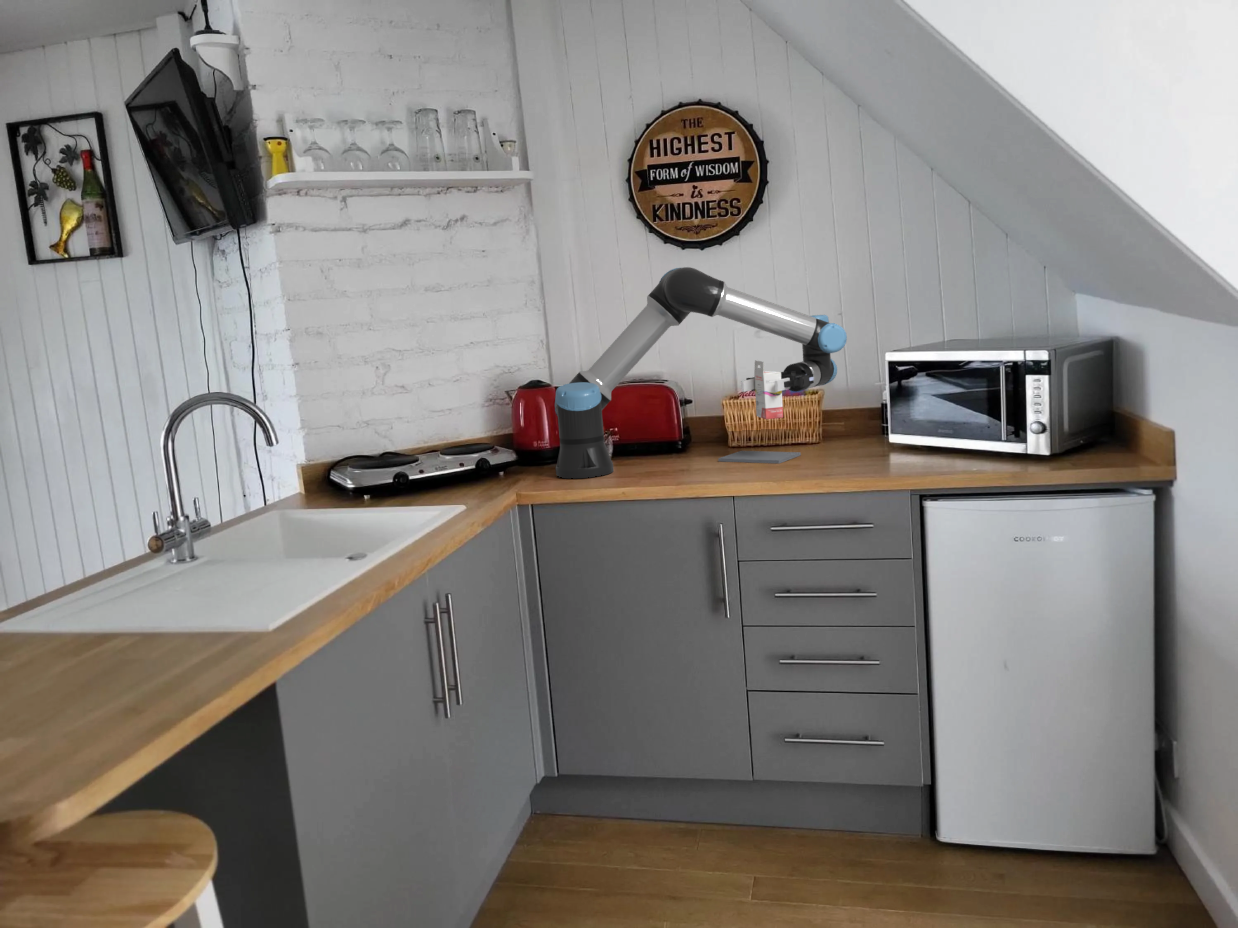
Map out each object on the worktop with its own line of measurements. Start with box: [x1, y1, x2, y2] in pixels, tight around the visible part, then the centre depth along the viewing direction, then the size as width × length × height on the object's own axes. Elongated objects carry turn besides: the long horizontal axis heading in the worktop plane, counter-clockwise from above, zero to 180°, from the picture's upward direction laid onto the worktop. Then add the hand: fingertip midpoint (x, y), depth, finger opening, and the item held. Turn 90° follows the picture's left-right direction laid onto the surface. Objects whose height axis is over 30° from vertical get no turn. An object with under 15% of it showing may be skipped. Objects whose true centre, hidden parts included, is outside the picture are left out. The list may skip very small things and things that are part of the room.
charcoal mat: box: [718, 450, 802, 465], centre depth 280 cm, size 18×12×1 cm, turn 54°
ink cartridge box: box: [753, 360, 784, 420], centre depth 272 cm, size 9×5×15 cm, turn 10°
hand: (759, 386), depth 268 cm, fingers closed on ink cartridge box, 9 cm apart
